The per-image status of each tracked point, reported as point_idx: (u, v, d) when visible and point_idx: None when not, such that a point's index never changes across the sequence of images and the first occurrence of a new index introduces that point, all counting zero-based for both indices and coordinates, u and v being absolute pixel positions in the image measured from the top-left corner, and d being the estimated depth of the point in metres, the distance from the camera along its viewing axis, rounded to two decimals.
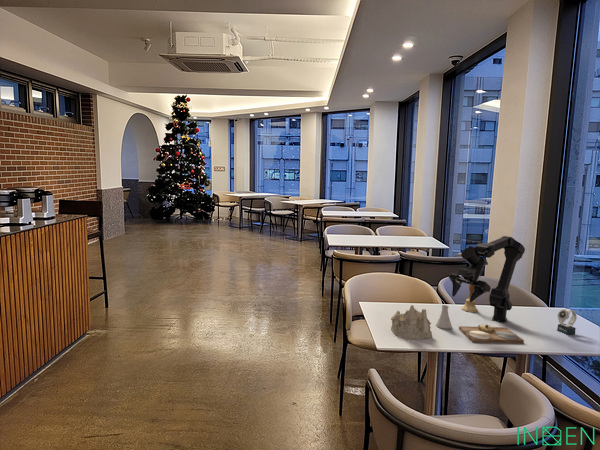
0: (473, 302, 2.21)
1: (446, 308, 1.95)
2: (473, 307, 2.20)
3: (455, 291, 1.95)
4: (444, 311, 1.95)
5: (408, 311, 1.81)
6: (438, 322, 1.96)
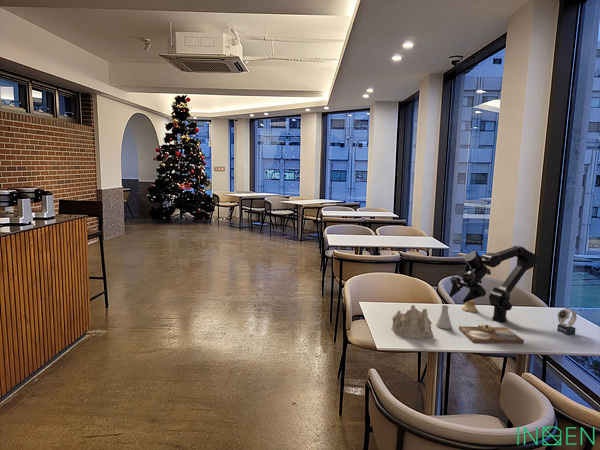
0: (473, 302, 2.21)
1: (446, 308, 1.95)
2: (473, 307, 2.20)
3: (453, 292, 2.03)
4: (444, 311, 1.95)
5: (409, 311, 1.82)
6: (438, 322, 1.96)
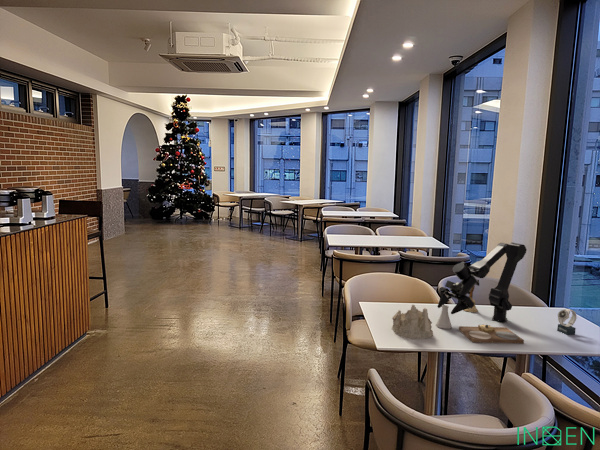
0: None
1: (446, 308, 1.95)
2: (473, 307, 2.20)
3: (441, 303, 2.01)
4: (444, 311, 1.95)
5: (409, 311, 1.82)
6: (438, 322, 1.96)
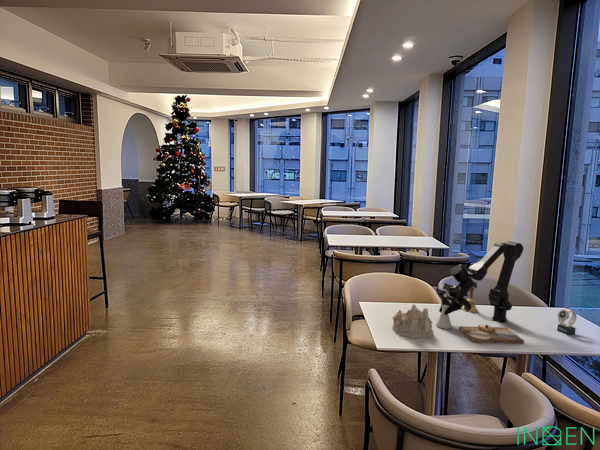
0: (473, 302, 2.21)
1: (446, 308, 1.95)
2: (473, 307, 2.20)
3: None
4: (444, 311, 1.95)
5: (410, 310, 1.82)
6: (438, 322, 1.96)
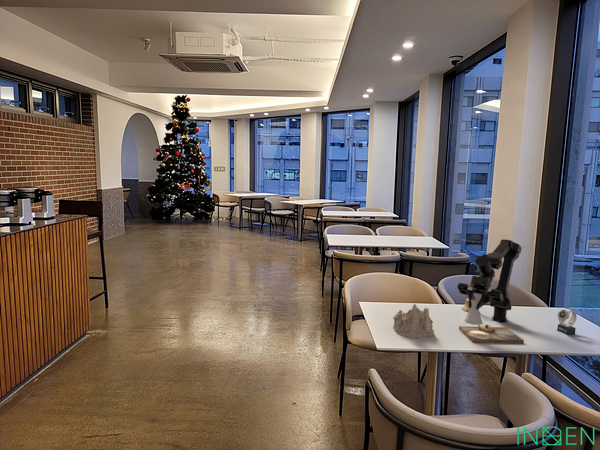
0: None
1: (477, 303, 1.83)
2: None
3: (471, 302, 1.85)
4: (475, 306, 1.83)
5: (411, 310, 1.83)
6: (470, 319, 1.83)
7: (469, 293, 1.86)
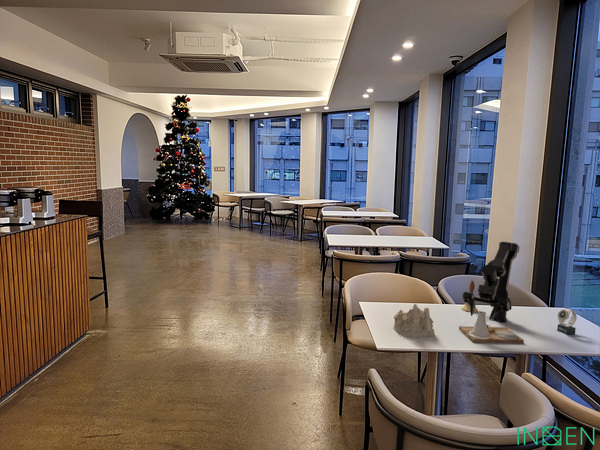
0: None
1: (484, 314, 1.81)
2: None
3: (473, 310, 1.85)
4: (483, 318, 1.81)
5: (411, 310, 1.83)
6: (477, 331, 1.81)
7: (470, 301, 1.86)
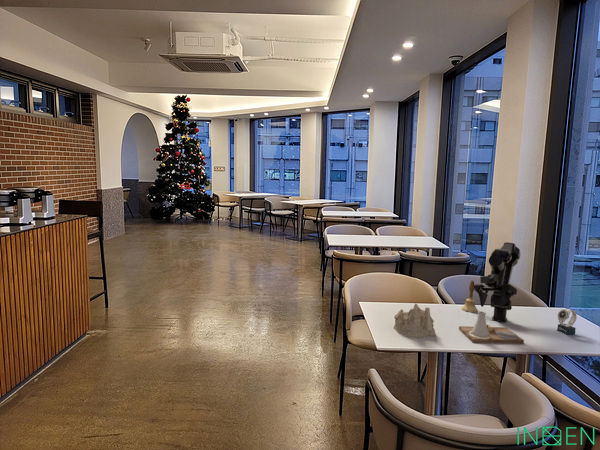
0: (473, 302, 2.21)
1: (484, 314, 1.81)
2: (473, 307, 2.20)
3: (483, 301, 1.94)
4: (483, 318, 1.81)
5: (412, 309, 1.83)
6: (477, 331, 1.81)
7: (478, 293, 1.95)
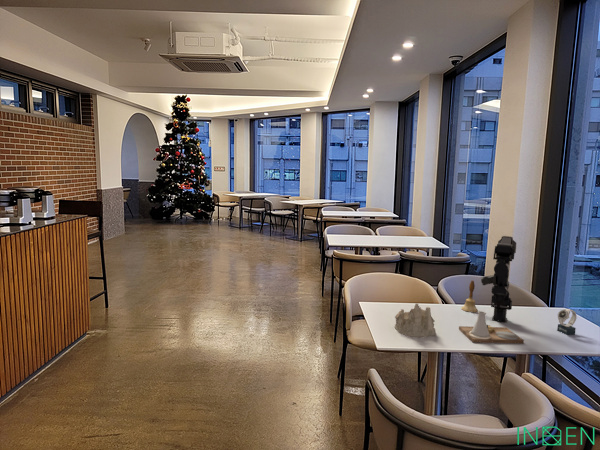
0: (473, 302, 2.21)
1: (484, 314, 1.81)
2: (473, 307, 2.20)
3: None
4: (483, 318, 1.81)
5: (413, 309, 1.84)
6: (477, 331, 1.81)
7: None
